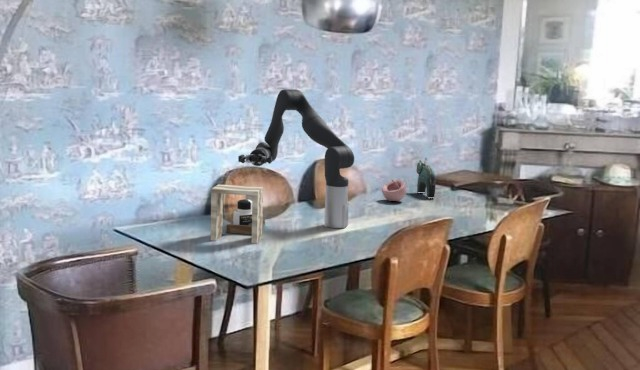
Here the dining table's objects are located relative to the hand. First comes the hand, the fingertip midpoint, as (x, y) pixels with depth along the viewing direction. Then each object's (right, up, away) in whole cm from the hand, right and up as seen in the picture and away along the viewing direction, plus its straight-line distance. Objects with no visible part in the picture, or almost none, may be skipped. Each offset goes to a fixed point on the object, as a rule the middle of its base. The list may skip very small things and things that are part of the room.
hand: (252, 161), depth 297 cm
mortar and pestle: (+65, -18, +50) cm, 84 cm away
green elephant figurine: (+84, -16, +68) cm, 110 cm away
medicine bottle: (-1, -28, -19) cm, 34 cm away
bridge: (-3, -30, -33) cm, 45 cm away
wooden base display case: (-1, -28, -17) cm, 32 cm away
